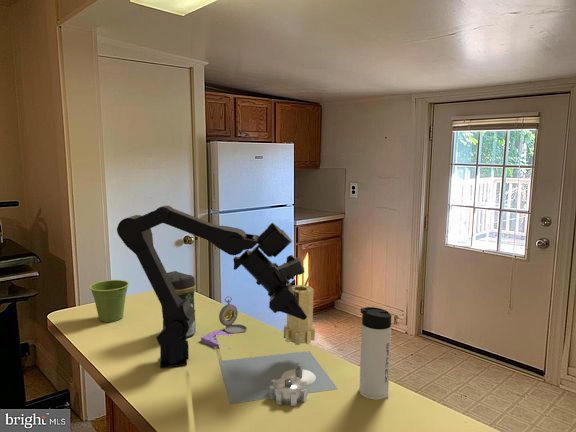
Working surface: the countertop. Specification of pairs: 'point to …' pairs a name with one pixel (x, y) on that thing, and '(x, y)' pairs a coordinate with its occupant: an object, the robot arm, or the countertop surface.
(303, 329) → the gear
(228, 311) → the pocket watch
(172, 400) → the countertop surface
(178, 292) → the coffee jar
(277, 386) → the gear
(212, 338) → the sponges
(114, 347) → the countertop surface
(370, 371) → the travel mug
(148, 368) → the countertop surface
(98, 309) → the plant pot
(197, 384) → the countertop surface
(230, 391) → the gear board
